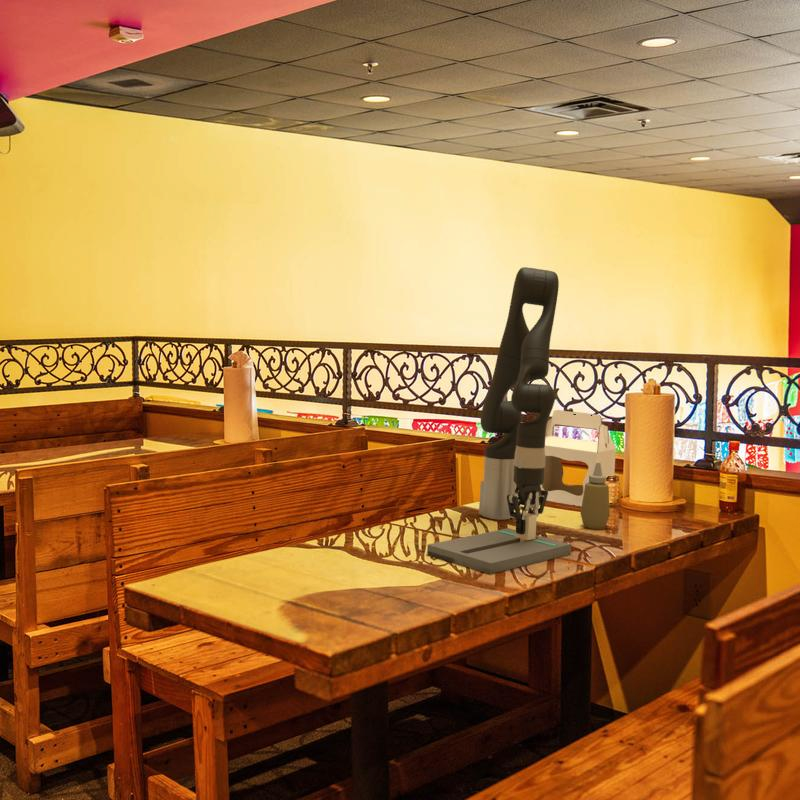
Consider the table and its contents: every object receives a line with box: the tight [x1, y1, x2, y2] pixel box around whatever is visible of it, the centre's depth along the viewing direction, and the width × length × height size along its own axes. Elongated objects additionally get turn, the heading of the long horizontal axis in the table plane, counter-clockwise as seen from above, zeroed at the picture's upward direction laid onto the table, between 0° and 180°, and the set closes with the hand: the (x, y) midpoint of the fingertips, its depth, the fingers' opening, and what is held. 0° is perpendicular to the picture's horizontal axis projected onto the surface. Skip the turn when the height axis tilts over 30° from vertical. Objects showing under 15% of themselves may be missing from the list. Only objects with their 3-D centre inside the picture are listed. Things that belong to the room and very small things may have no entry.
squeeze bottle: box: [580, 463, 611, 530], centre depth 269 cm, size 8×8×18 cm
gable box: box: [540, 409, 617, 508], centre depth 304 cm, size 22×13×28 cm, turn 53°
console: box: [426, 527, 572, 575], centre depth 236 cm, size 20×30×3 cm, turn 134°
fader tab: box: [515, 511, 538, 542], centre depth 242 cm, size 4×3×7 cm
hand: (525, 532), depth 242 cm, fingers open, 3 cm apart
